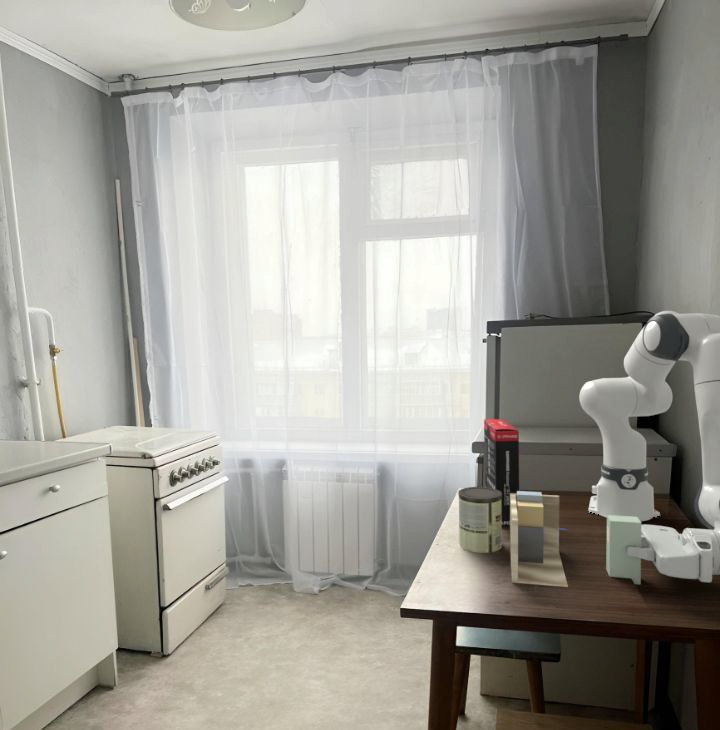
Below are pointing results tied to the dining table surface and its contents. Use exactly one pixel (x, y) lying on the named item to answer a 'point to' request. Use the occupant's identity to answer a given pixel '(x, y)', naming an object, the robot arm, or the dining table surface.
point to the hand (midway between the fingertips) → (624, 545)
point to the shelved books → (529, 509)
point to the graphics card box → (501, 461)
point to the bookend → (530, 544)
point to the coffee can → (480, 519)
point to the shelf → (552, 565)
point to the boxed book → (623, 547)
